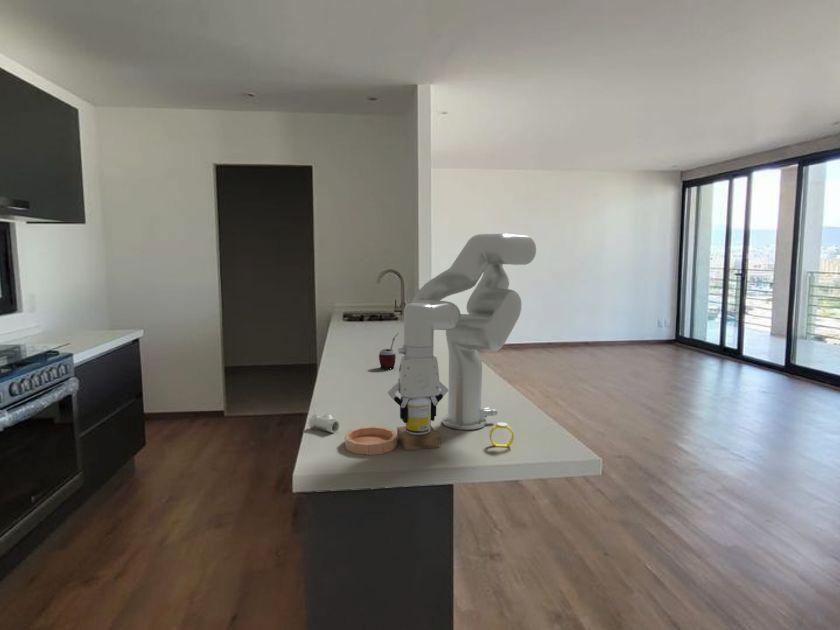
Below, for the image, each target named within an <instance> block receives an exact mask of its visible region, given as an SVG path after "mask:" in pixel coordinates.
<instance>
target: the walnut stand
mask: <svg viewBox="0 0 840 630" xmlns="http://www.w3.org/2000/svg"><path fill="white" fill-rule="evenodd" d="M396 434H397V441H398V442H399V443H400V445H401V446H402V448H403V450H404V451H405V452H406V451H415V450H423V449H424V450H427V449H435V448H437V449H438V448H440V447H441V435H440V434H439V433H438V432H437V430H435V429H434V427H433V426H432V425H431V430H430V432H429V433H427V434H423V435H413V434H410V433H408V432H407V431H406V425H405V426H397V427H396Z"/></svg>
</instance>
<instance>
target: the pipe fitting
mask: <svg viewBox="0 0 840 630" xmlns="http://www.w3.org/2000/svg"><path fill="white" fill-rule="evenodd" d="M308 426H309V427H310V428H312V429H315V430H322V431H325V432H328V433H332V434H336V433H337V432H338V431H339V429H340V421H339V420H337V419H335V418H334V417H333V416H332V415H331V414H328V413H326V414H324V415H323V416H319V415H316V414H312V416H311V417H310V418H309V422H308Z"/></svg>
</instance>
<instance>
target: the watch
mask: <svg viewBox="0 0 840 630" xmlns="http://www.w3.org/2000/svg"><path fill="white" fill-rule="evenodd" d="M496 429H507V430H509V431H510V433H511V437H510V440H509V441H508V442H507V443H505V444H504V443H496V442H495V441H494V440H493V439H492V434H493V433H494V431H495V430H496ZM514 436H515V435H514V431H513V430H512V428H511V427H510V426H509V425H508V423H507V422H501V421H500V422H496V424H495V425H494V426H492V428H490V431H489V440H490V442H491V444H492V445H493V446H494V447H496V448H508V447H510V446H511V445H512V444H513V441H514V439H515V438H514Z"/></svg>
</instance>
